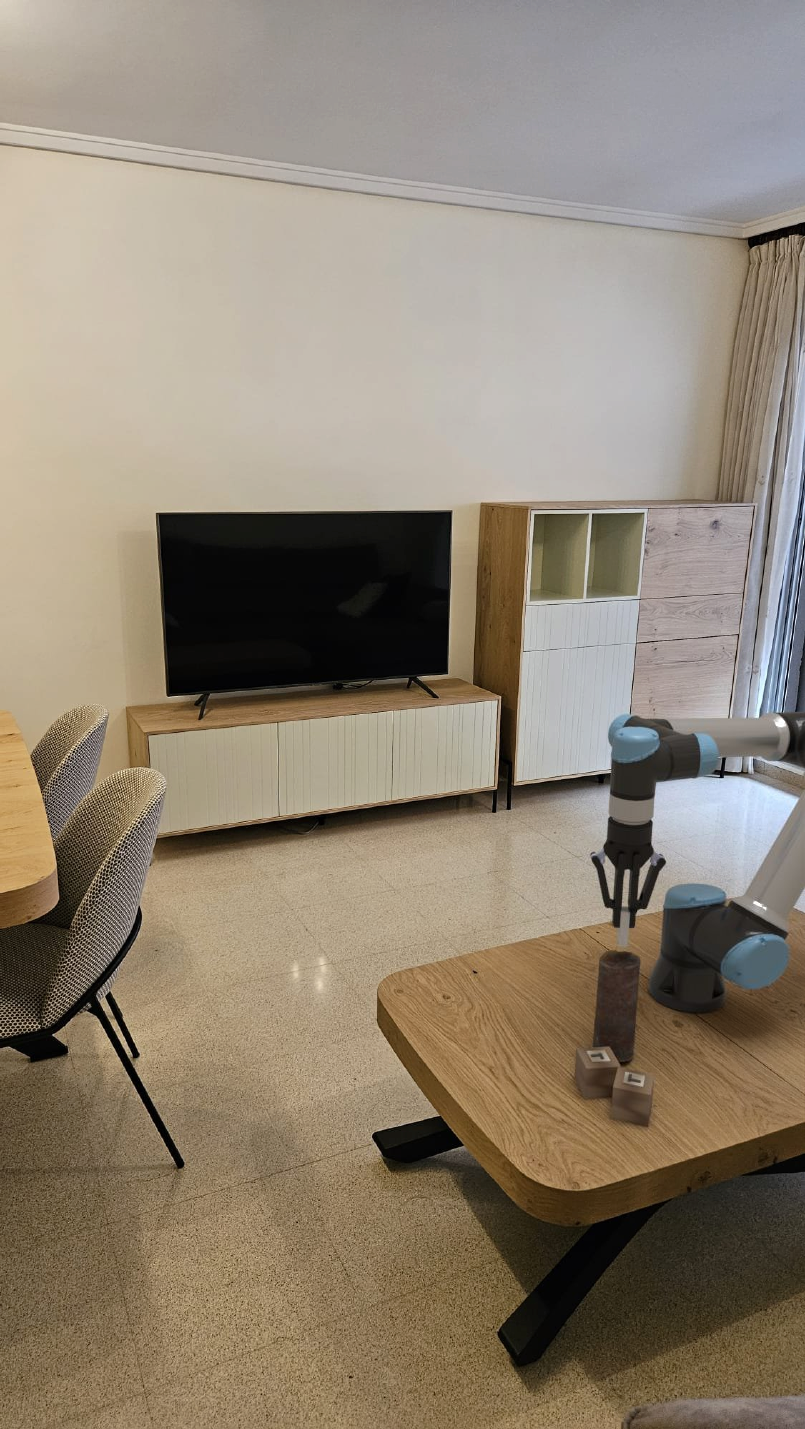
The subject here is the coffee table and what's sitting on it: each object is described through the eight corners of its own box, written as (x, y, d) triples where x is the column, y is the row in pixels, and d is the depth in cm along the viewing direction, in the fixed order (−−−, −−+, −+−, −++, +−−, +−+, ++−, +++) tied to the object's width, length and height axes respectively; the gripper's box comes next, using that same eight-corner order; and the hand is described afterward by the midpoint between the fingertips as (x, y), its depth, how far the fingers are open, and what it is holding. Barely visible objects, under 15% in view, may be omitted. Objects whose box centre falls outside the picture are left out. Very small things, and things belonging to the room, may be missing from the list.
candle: (624, 1072, 174) (632, 970, 169) (585, 1059, 178) (592, 959, 173) (638, 1052, 181) (647, 952, 176) (600, 1040, 184) (607, 942, 180)
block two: (607, 1076, 173) (609, 1043, 172) (618, 1097, 167) (621, 1063, 166) (574, 1078, 172) (576, 1045, 171) (584, 1099, 167) (586, 1065, 165)
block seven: (651, 1105, 165) (654, 1071, 164) (648, 1127, 160) (651, 1092, 158) (615, 1098, 167) (618, 1064, 166) (610, 1119, 162) (613, 1084, 160)
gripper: (665, 811, 171) (656, 935, 177) (589, 809, 172) (582, 932, 178) (673, 826, 164) (663, 955, 170) (594, 823, 165) (587, 952, 171)
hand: (622, 943), depth 174 cm, fingers closed
